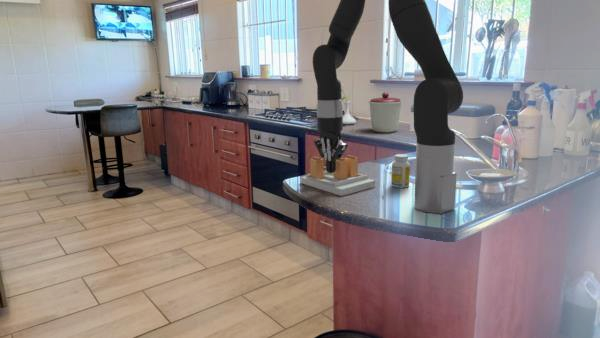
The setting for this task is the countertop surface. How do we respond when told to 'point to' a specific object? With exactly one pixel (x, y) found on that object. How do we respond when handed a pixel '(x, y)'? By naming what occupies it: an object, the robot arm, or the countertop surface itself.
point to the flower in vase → (347, 110)
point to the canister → (385, 113)
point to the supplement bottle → (400, 171)
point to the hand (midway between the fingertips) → (330, 172)
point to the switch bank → (339, 183)
